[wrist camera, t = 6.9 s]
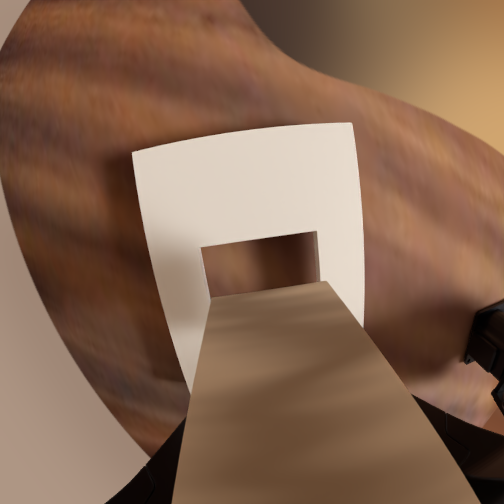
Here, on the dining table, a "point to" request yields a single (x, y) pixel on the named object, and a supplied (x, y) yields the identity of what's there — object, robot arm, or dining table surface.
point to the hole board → (248, 212)
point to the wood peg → (305, 412)
